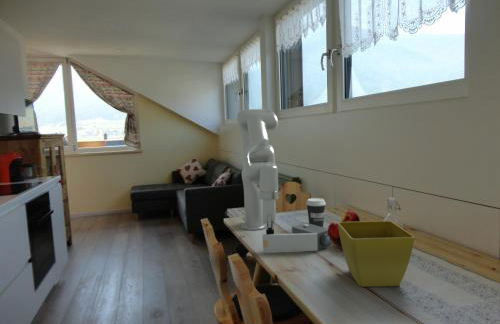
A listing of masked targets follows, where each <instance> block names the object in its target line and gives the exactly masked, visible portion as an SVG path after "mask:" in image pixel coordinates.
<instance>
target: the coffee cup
mask: <svg viewBox="0 0 500 324" xmlns="http://www.w3.org/2000/svg"><path fill="white" fill-rule="evenodd" d="M326 203H327V202H326V201H325V199H324V198H319V197H311V198H308V199H307V201H306V203H305V205H306V207H307V217H308V223H309V224H312V225H316V226H320V227H324V221H325V208H326V205H327V204H326Z"/></svg>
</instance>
